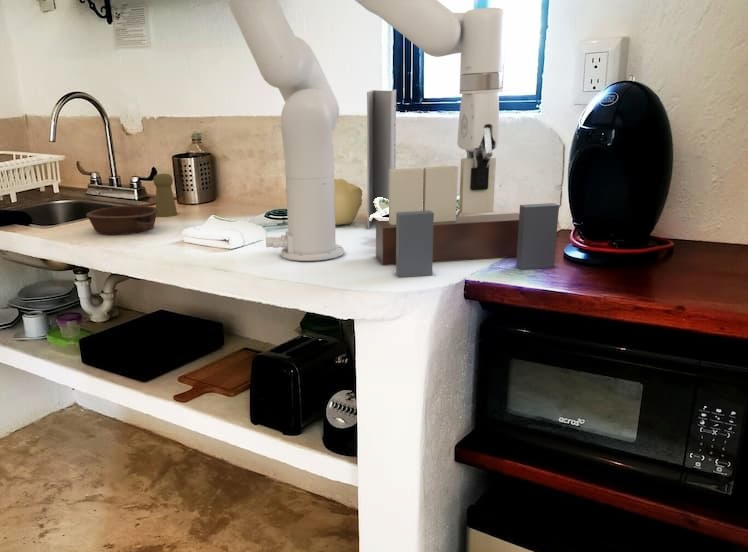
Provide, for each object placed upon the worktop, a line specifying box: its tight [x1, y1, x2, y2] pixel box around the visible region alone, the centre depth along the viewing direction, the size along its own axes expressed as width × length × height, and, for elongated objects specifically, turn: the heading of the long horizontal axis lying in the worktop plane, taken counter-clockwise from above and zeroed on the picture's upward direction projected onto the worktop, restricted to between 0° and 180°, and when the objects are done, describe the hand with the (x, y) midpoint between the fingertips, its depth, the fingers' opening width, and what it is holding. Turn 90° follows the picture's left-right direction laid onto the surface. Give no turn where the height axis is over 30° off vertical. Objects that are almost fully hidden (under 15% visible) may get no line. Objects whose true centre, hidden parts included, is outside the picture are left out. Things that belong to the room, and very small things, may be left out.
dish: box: [85, 205, 158, 235], centre depth 192 cm, size 18×22×5 cm
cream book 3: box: [458, 156, 497, 215], centre depth 144 cm, size 6×2×10 cm, turn 94°
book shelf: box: [375, 212, 519, 266], centre depth 148 cm, size 28×7×7 cm, turn 94°
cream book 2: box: [422, 165, 459, 222], centre depth 145 cm, size 6×2×10 cm, turn 94°
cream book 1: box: [389, 167, 423, 225], centre depth 144 cm, size 6×2×10 cm, turn 94°
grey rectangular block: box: [515, 202, 560, 270], centre depth 136 cm, size 6×3×11 cm, turn 94°
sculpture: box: [334, 178, 363, 226], centre depth 185 cm, size 12×12×11 cm
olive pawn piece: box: [152, 173, 178, 218], centre depth 211 cm, size 6×6×11 cm
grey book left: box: [395, 210, 434, 278], centre depth 136 cm, size 6×3×11 cm, turn 94°
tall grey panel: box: [366, 88, 397, 230], centre depth 180 cm, size 14×6×30 cm, turn 168°
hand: (476, 188), depth 145 cm, fingers closed on cream book 3, 2 cm apart
